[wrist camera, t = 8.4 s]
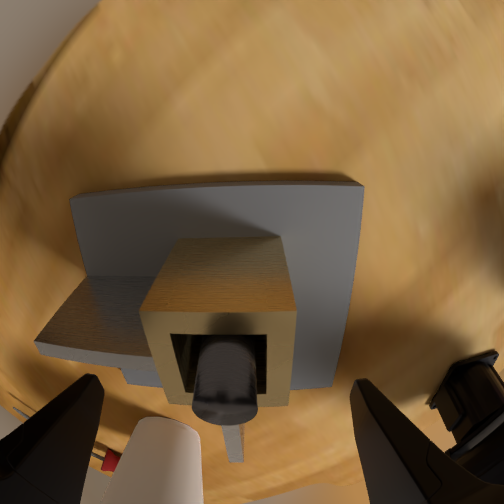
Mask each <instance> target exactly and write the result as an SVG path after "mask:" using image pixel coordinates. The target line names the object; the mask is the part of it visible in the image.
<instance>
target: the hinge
mask: <svg viewBox="0 0 504 504" xmlns="http://www.w3.org/2000/svg"><path fill="white" fill-rule="evenodd" d="M296 316H297V309H296V304H295V299H294V295H293V290H292V285H291V280H290V275H289V271H288V266H287V261H286V257H285V252H284V248H283V243H282V239H281V236H264V237H219V238H183V239H178V240H177V242H176V244H175V245H174V247H173V249H172V251H171V252H170V254H169V256H168V258H167V259H166V261H165V263H164V265H163V266H162V268H161V270H160V272H159V274H158V276H86V278H85V279H84V280H83V281H82V282H81V283H80V284H79V286H78V287H77V288H76V289H75V290H74V291H73V293H72V294H71V295H70V296H69V297H68V298H67V300H66V301H65V302H64V303H63V304H62V306H61V307H60V308H59V309H58V311H57V312H56V313H55V314H54V316H53V317H52V318H51V319H50V321H49V322H48V323H47V324H46V326H45V327H44V328H43V330H42V331H41V332H40V333H39V335H38V336H37V337H36V339H35V340H34V343H35V344H36V346H37V348H38V350H39V352H40V354H41V355H46V356H51V357H56V358H61V359H66V360H71V361H77V362H83V363H89V364H95V365H102V366H109V367H117V368H125V369H134V370H144V371H154V372H158V375H159V378H160V381H161V384H162V386H163V389H164V392H165V394H166V397H167V400H168V402H169V404H180V405H192V400H193V393H194V386H195V379H196V373H197V366H198V359H199V353H200V347H201V340H202V334H209V335H249V334H254V340H255V361H256V383H257V405H258V407H274V406H288V403H289V393H290V384H291V374H292V363H293V353H294V341H295V329H296ZM221 426H222V431H223V435H224V440H225V445H226V449H227V454H228V458H229V462H244V426H245V423H243V424H239V425H232V426H223V425H221Z"/></svg>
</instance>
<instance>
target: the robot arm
mask: <svg viewBox="0 0 504 504" xmlns="http://www.w3.org/2000/svg"><path fill="white" fill-rule="evenodd" d="M498 356H499V354H498V352H497V351H495V352H492V353H488V354H485V355H482V356H478V357H475V358H472V359H468V360H464V361H461V362H457V363H455V364H453V365H452V367H451V368H450V370H449V372H448V374H447V376H446V377H445V379H444V381H443V383H442V385H441V386H440V388H439V390H438V392H437V393H436V395H435V397H434V398H433V400H432V402H431V403H430V405H429V406H430V409H436V408H437V409H438V411H439V413H440V415H441V417H442V420H443V422H444V424H445V426H446V428H447V430H448V431H449V432H450V431H452V434H453V436H454V438H455V440H456V443H457V444H456V445H455V446H454V447H452V448H450V449H448V450H447V451H445V453H444V452H443V451H442V450H440V449H439V448H438V447H437V446H436V445H435V444H434V443H433V442H432V441H430V439H429V438H428V437H427V436H426V435H425V434H424V433H423V432H422V431H421V430H419V429H418V428H417V427H416V426H415V425H414V424H413V423H412V422H411V421H410V420H409V419H408V418H407V417H406V416H405V415H404V414H403V413H402V412H401V411H400V410H399V409H398V408H397V407H396V406H395V405H394V404H393V403H392V402H391V401H390V400H389V399H388V398H387V397H386V396H385V395H384V394H383V393H382V392H380V391H379V390H378V389H377V388H376V387H375V386H374V385H373V384H372V383H371V382H370V381H369V380H368V379H366V378H363V379H357V380H355V381H354V384H353V387H352V390H351V393H350V404H351V412H352V419H353V427H354V435H355V440H356V445H357V449H358V453H359V457H360V461H361V465H362V469H363V474H364V478H365V482H366V487H367V490H368V496H369V500H370V504H504V382H503V381H502V379H501V378H500V376H499V375H498V373H497V372H496V370H495V369H494V367H493V365H494V363H495V361H496V360H497V358H498ZM103 399H104V388H103V386H102V385H101V383H100V381H99V379H98V377H97V376H96V375H94V374H88V373H87V374H84V375H83V376H82V377H81V378H79V379H78V380H77V381H76V382H74V383H73V384H72V385H70V386H69V387H68V388H67V389H65V390H64V391H63V392H62V393H60V394H59V395H58V396H57V397H55V398H54V399H53V400H52V401H50V402H49V403H48V404H47V405H45V406H44V407H43V408H42V409H40V410H39V411H38V412H36V413H35V414H34V415H33V416H31V417H30V418H29V419H28V420H26V421H25V422H24V424H21V425H20V426H19V427H18V428H16V429H15V430H14V431H12V432H11V433H10V434H9V435H7V436H6V437H4V438H3V439H1V440H0V504H80V501H81V496H82V491H83V486H84V482H85V478H86V473H87V469H88V465H89V461H90V457H91V453H92V449H93V446H94V442H95V438H96V435H97V431H98V427H99V421H100V415H101V410H102V404H103Z"/></svg>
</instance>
